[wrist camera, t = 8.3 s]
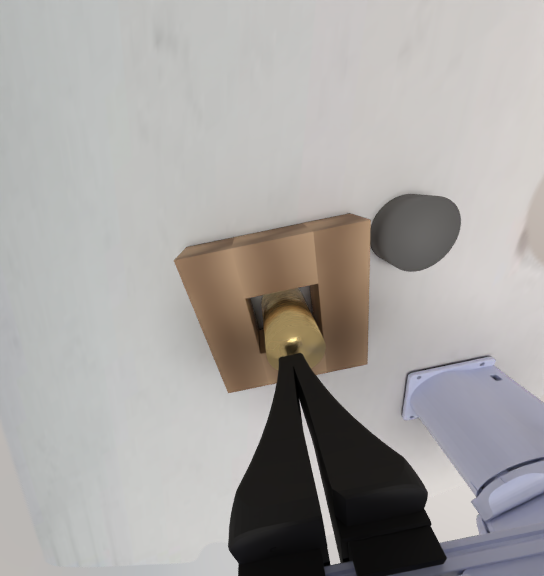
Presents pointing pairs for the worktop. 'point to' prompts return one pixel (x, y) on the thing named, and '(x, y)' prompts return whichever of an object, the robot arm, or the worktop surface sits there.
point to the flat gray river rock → (415, 231)
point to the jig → (279, 277)
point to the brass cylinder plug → (290, 328)
